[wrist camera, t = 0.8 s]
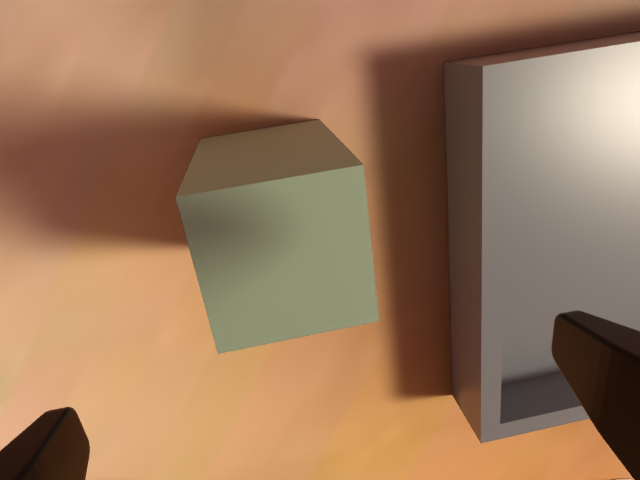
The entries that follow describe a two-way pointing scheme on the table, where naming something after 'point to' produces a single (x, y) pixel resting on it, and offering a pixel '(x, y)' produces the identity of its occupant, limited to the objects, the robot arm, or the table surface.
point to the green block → (279, 234)
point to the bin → (538, 219)
